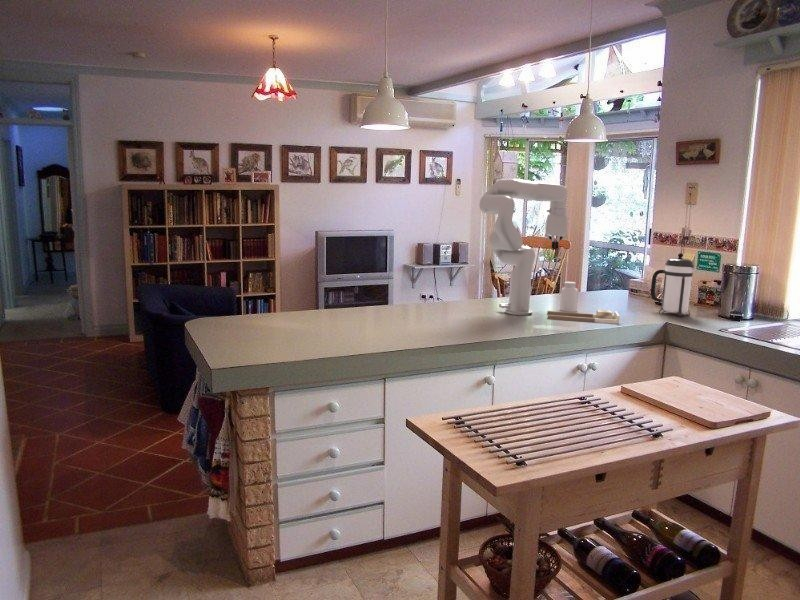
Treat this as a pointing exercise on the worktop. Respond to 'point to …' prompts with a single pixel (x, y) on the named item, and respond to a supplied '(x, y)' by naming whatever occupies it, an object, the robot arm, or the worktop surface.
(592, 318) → the lane
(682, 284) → the coffee press
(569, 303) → the pill bottle
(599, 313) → the block
